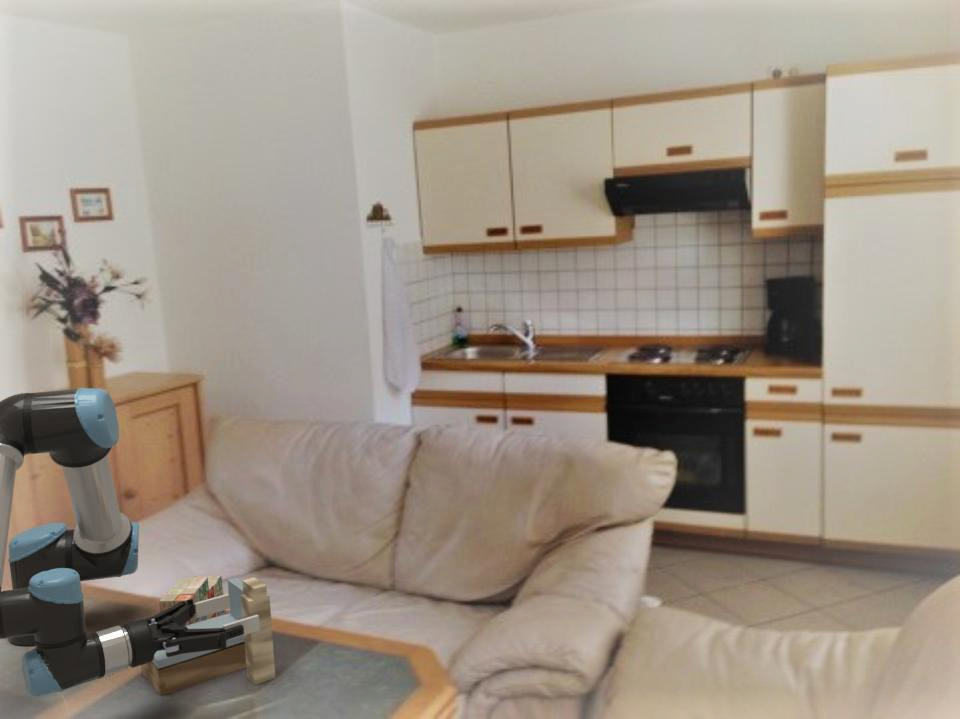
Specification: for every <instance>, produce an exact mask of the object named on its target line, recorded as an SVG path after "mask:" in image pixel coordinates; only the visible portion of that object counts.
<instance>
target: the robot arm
mask: <svg viewBox="0 0 960 719" xmlns="http://www.w3.org/2000/svg"><path fill="white" fill-rule="evenodd" d="M119 426H120V425H119V420H118V417H117V410H116V406H115V403H114V401H113V398H112V396H111V395H110V394H109V392H107V390H105V389H104V388H99V387H98V388H86V387H80V388H78V389H63V390H52V391H51V390H50V391H40V392H39V391H38V392H22V393H17V394H16V393H15V394H13V395H11V396H7V397H6V398H4V399H2V400H1V401H0V640H2V639H3V640H5V639H8V641H9V643H10V644H13V645H18V646H35V648H32V649H31V650H29V651H26V652H25V653H24V654H23V655H22V666H21V668H22V675H23V679H24V684H25V687H26V691H27V692H28V693H29V695H30V696H31V697H34V698H39V697H42V696H47V695H50V694H54V693H55V694H56V693H61V692H63V691H64V690H65V691H66V690H67V689H70V688H71V689H72V688H74V687H77V686H80V685H82V684H85V683H86V684H87V683H88V682H91V681H95V680H98V679H102V678H105V677H109V678H111V677H113V676H114V674H117V673H121V672H123V671H127V669H129V667H130V668H132V669H133V668H136V667H141V665H143V664H147V663H150V662H152V661H153V659H154V655H155V653H156V652H157V651H160V650H166V656H167V657H171V656H175V655H179V654H184V653H192V652H200V651H207V650H215V649H223V648H226V647H227V645H226V641H227V640H231V639H234V638H237V637H240V636H243V635H246V634H249V633H252V632H256V631H259V630H260V625H259V616H258V615H254V616H251V617H248V618H244V619H241V620H238V621H234V622H231V623H228V624H225V625H222V627H223V628H205V629H188V628H187V627H185V626H182V625H184V624H185V623H186V622H188V621H189V620H190V619H191V618H193V617H194V614H195V615H196V618H199V617H202V616H206V615H209V614H212V613H216V612H219V611H223V610H225V611H227V610H230V598H229V593H226V594H223V595H221V596H218V597H214V598H211V599H207V600H204V601H200V602H197V603H195V604H194V605H193V599H188V600H187V602H186V601H182V602H180V603H178V604H176V605H174V606H172V607H170V608H168V609H166V610H164V611H162V612H160V611H159V612H158V613H157V614H154V615H152V616H149V617H146V618H141V619H137V620H133V621H130V622H127V623H124V624H123V625H122V627H121V626H120V625H115V626H112V627H109V628H105V629H101V630H98V631H95V632H93V633H89V634H87V627H86V615H85V614H86V613H85V606H84V605H85V603H84V597H85V596H84V594H83V589H82V583H81V582H87V581H95V580H103V579H110V578H111V579H112V578H121V577H122V576H127V575H132V574H135V573H136V571H137V570H138V568H139V540H140V538H139V536H140V535H139V532H140V524H139V523H138V522H137V521H130V519H129V518H128V517H127V515H125V513H122V512H121V511H120V507H119V502H118V501H119V500H118V496H117V492H116V488H115V482H114V479H113V473H112V470H111V464H110V460H109V454H110V453H111V451H112V449H113V447H114V446H116V445H117V444H118V442H119V437H120V428H119ZM46 453H48V454H49V456H50V459H51V461H53V463H55V464H56V465H57V466H59V467H61V468H62V471H63V476H64V479H65V482H66V485H67V489H68V493H69V498H70V500H71V504H72V508H73V511H74V515H75V519H76V522H77V524H76V526H75V528H73V529H68V526H67V525H66V524H65V523H64V522H52V523H45V524H42V525H39V526H35V527H32V528H29V529H27V530H25V531H22V532H20V533H18V534H17V535H15V536H13V537H12V538H11V540H10V541H9V543H8V540H9V539H8V537H9V530H10V522H11V515H12V514H11V513H12V507H13V497H14V491H15V490H14V489H15V481H16V473H17V471H19V469H21V467H22V466H23V464H24V458H25V456H26V455H31V454H32V455H34V454H35V455H36V454H46ZM7 545H8V546H7ZM7 547H8V563H9V569H10V570H9V571H10V578H11V587H12V589H7V590H3V591H2V586H3V581H4V580H3V579H4V572H5V563H6V555H7V554H6V553H7ZM179 608H180V610H179ZM218 638H219V639H218Z"/></svg>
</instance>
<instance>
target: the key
mask: <svg viewBox="0 0 960 719" xmlns="http://www.w3.org/2000/svg"><path fill="white" fill-rule="evenodd" d="M241 581H242V583H243V593H244V595H241V604H242V617H243V619H244V618H248V617H251V616H254V615H258V616H259V625H260V630H259V631H256V632H252V633H249V634H246V635H244V643H245V656H246V667H245V668H246V669H245V670H246V678H248V679H249V681H251V682H252V683H253V684H254V685H259V684H261V683H264V682H267V681H270V680H273V679H276V668H275V667H276V666H275V654H274V653H275V652H274V640H273V639H274V638H273V626H272V614H271V613H272V612H271V597H270V595H269V594H268V592H267V585H266V584H265V583H263V581H260V580H259V579H258V578H256V577H250V578H246V579H241Z"/></svg>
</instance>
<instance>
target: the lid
mask: <svg viewBox="0 0 960 719" xmlns="http://www.w3.org/2000/svg"><path fill="white" fill-rule="evenodd" d="M227 589H228V594H229V598H230V608H229V613H228V612H227V613H225V614H224V615H221V616H218V617H215V618H211V619H208V620H204V621H201V622H197V623H194V624H191V625H187V626H185V627H187V628H188V629H205V628H223V627H222V625H225V624H228V623H231V622H234V621H238V620H241V619H243V617H242V604H241V595H244V593H243V583H242V579H240V578H238V577H233V578H229V579H227ZM218 639H219V638H218ZM242 642H244V635H243V636H240V637H237V638H234V639H231V640H227V641H226V645H227V647H229V646H232V645H235V644H238V643H242ZM216 650H219V649H215V650H207V651H200V652H192V653H184V654H179V655H175V656H171V657H167V656H166V650H160V651H157V652H156V653H155V655H154V659H153V661H152V662H153V663H154V664H155V666H156V667H157V668H158V669H159V668H162V667H166V666H169V665H172V664H175V663H178V662H181V661H185V660H188V659H191V658H194V657H197V656H200V655H204V654H207V653H210V652H213V651H216Z"/></svg>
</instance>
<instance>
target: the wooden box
mask: <svg viewBox="0 0 960 719" xmlns="http://www.w3.org/2000/svg"><path fill="white" fill-rule="evenodd" d="M140 667H141V673H142V674H143V676H144V677H145V678H146V680H147V681H148V682H149V683H150V685H152V687H153V688H154V690H156V692H157V693H158V694H159V696H161V697H162V696H164V695H167V694H171V693H173V692H176V691H179V690H183V689H185V688H189V687H191V686H194V685H197V684H201V683H203V682H207V681H209V680H213V679H215V678H218V677H221V676H224V675H227V674H230V673H232V672H233V673H234V672H236V671H239V670H242V669H245V668H246V656H245V643H244V642H242V643H238V644H235V645H232V646H229V647H226V648H223V649H219V650H216V651H213V652H210V653H207V654H204V655H200V656H197V657H194V658H191V659H188V660H185V661H181V662H178V663H175V664H172V665H169V666H166V667H162V668H159V669H158V668H157V667H156V666H155V664H154V663H153V662H150V663H147V664H143V665H140Z"/></svg>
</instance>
